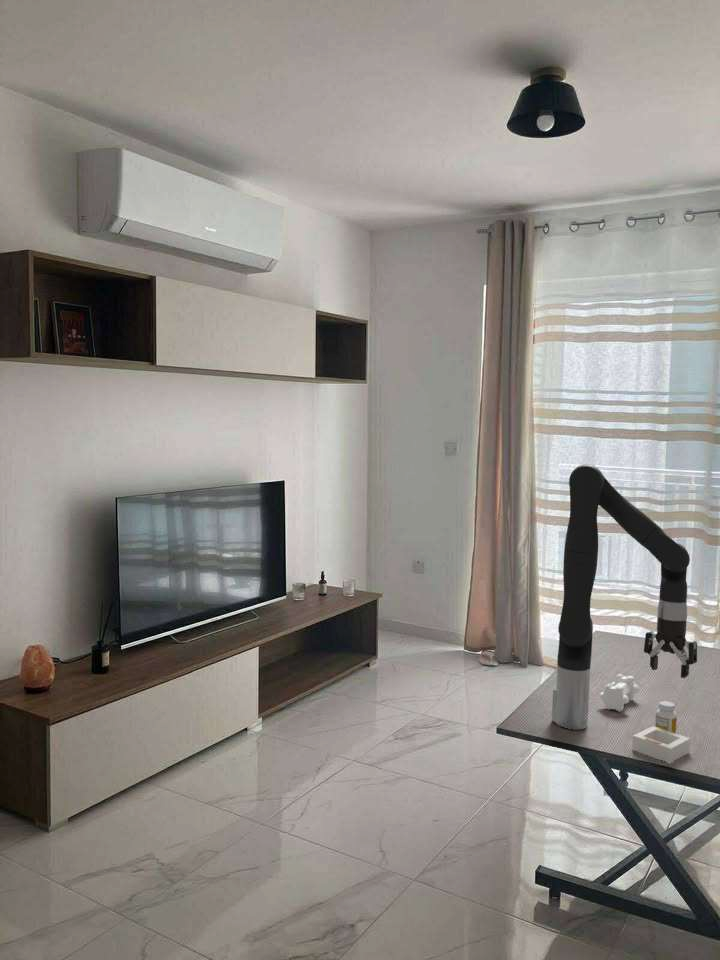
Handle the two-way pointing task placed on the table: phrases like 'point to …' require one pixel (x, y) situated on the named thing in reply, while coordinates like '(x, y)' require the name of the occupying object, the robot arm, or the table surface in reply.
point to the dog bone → (619, 692)
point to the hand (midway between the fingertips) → (668, 673)
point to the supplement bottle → (666, 716)
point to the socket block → (661, 744)
